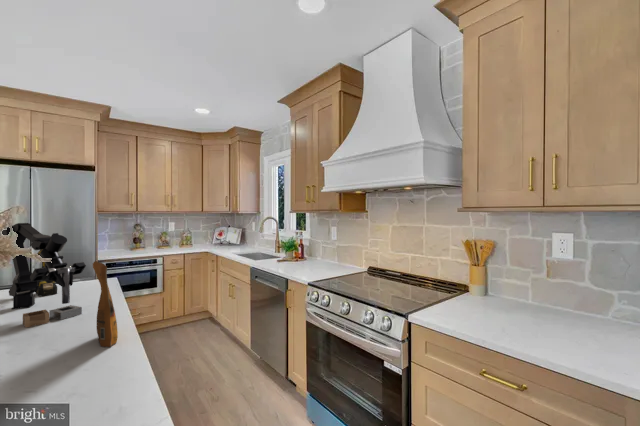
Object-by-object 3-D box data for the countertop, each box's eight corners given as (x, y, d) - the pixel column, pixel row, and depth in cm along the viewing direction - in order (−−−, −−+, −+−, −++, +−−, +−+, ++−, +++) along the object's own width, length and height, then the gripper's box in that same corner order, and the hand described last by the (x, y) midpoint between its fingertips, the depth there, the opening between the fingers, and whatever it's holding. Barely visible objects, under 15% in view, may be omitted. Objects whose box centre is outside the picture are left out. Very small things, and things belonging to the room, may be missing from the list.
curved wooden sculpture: (94, 352, 97) (94, 266, 97) (92, 333, 112) (92, 259, 112) (119, 346, 102) (119, 264, 101) (114, 329, 116) (114, 257, 116)
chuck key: (59, 305, 129) (59, 270, 128) (55, 304, 129) (55, 269, 129) (75, 301, 134) (75, 267, 134) (71, 300, 135) (71, 267, 135)
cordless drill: (42, 299, 155) (42, 251, 155) (33, 293, 168) (33, 248, 168) (62, 296, 162) (62, 250, 162) (52, 290, 175) (52, 247, 175)
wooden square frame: (22, 323, 123) (22, 313, 123) (45, 318, 128) (45, 309, 128) (25, 327, 118) (25, 317, 118) (49, 322, 124) (49, 312, 124)
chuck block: (49, 317, 130) (49, 310, 130) (70, 311, 137) (70, 305, 137) (60, 319, 127) (60, 312, 127) (81, 313, 134) (81, 307, 134)
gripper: (68, 267, 146) (83, 292, 142) (18, 274, 129) (33, 303, 125) (78, 251, 143) (93, 276, 139) (29, 257, 126) (44, 286, 122)
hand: (67, 285), depth 131 cm, fingers closed on chuck key, 3 cm apart
